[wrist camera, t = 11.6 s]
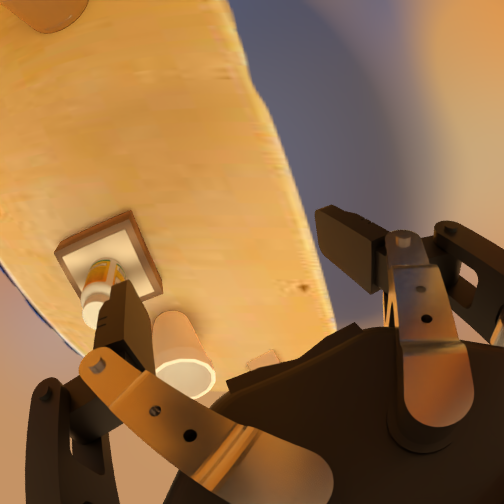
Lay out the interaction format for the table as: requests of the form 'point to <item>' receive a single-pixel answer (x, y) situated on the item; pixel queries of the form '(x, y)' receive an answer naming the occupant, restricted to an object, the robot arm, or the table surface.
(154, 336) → the foam cup
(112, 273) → the supplement bottle
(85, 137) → the table surface
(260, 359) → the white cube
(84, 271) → the base slab
